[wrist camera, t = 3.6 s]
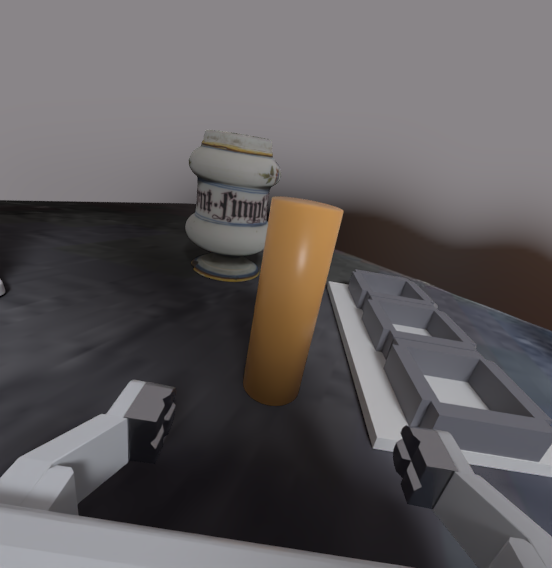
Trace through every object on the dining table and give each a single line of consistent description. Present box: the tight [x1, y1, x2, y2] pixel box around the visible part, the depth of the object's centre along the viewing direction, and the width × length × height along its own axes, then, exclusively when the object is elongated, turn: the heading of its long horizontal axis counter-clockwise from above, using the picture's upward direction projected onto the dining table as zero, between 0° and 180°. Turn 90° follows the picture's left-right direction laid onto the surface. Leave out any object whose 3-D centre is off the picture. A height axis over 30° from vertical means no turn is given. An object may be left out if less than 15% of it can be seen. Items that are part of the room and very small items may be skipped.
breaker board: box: [327, 269, 552, 477], centre depth 32 cm, size 27×14×4 cm, turn 177°
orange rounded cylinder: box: [243, 196, 343, 406], centre depth 22 cm, size 4×4×14 cm
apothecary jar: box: [185, 130, 281, 282], centre depth 42 cm, size 12×12×18 cm
